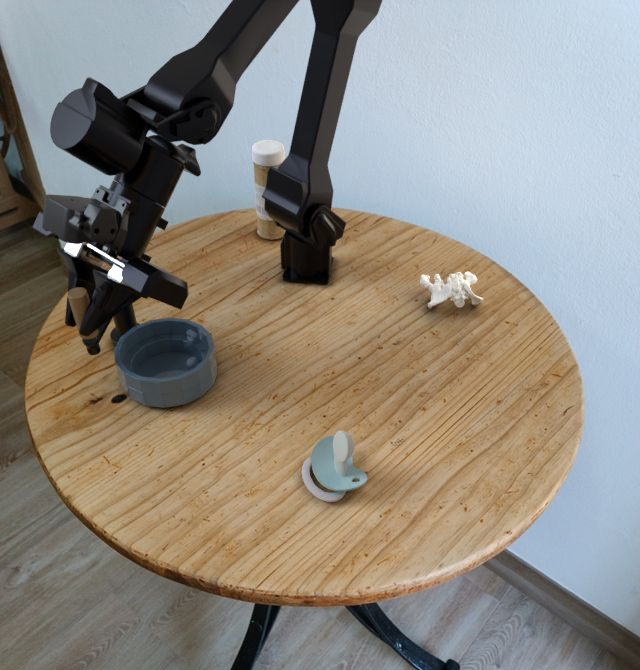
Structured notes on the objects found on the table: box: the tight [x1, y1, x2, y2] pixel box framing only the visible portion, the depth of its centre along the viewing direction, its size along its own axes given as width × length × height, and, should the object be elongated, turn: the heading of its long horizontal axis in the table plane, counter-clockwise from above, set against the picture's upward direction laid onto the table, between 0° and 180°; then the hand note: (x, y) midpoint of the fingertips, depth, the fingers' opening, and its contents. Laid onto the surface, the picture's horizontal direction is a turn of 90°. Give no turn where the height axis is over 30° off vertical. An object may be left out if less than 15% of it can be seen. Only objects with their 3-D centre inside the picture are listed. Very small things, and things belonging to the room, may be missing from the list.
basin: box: [113, 317, 218, 409], centre depth 80 cm, size 11×11×4 cm
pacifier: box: [301, 430, 368, 503], centre depth 70 cm, size 7×6×6 cm
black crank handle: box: [66, 287, 138, 356], centre depth 78 cm, size 11×3×12 cm, turn 173°
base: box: [109, 322, 141, 348], centre depth 86 cm, size 4×4×1 cm
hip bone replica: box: [419, 271, 484, 309], centre depth 92 cm, size 8×4×7 cm
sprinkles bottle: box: [251, 139, 286, 241], centre depth 99 cm, size 5×5×13 cm
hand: (76, 330), depth 73 cm, fingers closed on black crank handle, 2 cm apart
